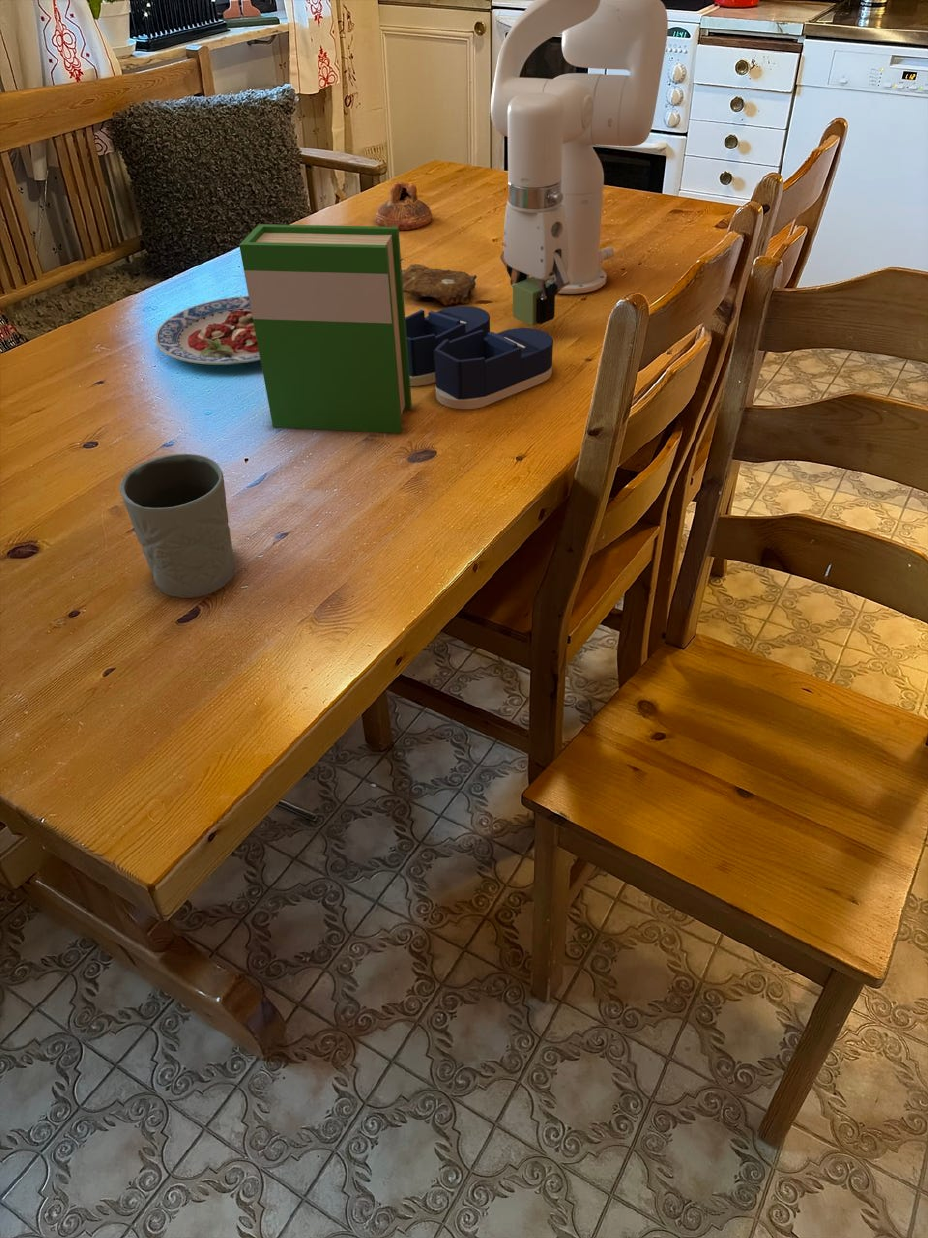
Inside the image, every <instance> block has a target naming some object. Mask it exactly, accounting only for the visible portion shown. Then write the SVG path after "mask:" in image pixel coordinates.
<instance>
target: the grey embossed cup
mask: <svg viewBox="0 0 928 1238" xmlns="http://www.w3.org/2000/svg"><path fill="white" fill-rule="evenodd" d="M224 477H225V476H224V472H223V470H222V468H221V467H220V464H218V463H217V462H216V461H214V460H213V459H211V458H209V457H207V456H204V455H200V454H193V453H174V454H173V453H172V454H166V455H161V456H158V457H153V458H151V459H149V460H146V461H144V462H141V463H140V464H138V465H136V466H134V467H133V468H132V469H130V470H129V471H128V472H127V473H126V474H125V475H124V477H123V478H122V479H121V482H120V484H119V493H120V496H121V498H122V501H123V503H124V506H125V508H126V511H127V513H128V516H129V519H130V521H131V524H132V528H133V529H134V532H135V534H136V537H137V541H138V543H139V544H140V545H141V547H142V553H143V555H144V558H145V560H146V563H147V565H148V568H149V569H150V573H151V575H152V578H153V580H154V583H155V585H156V587H157V588H158V589H159V591H161V592H162V593H164V594H165V595H167V596H169V597H172V598H177V599H179V598H180V599H193V598H199V597H203V596H207V595H210V594H212V593H214V592H217V591H219V590H221V589H222V588H223V587H225V586H226V585H227V584H229V582H231V580H232V578H233V577H234V575H235V572H236V560H235V555H234V552H233V544H232V537H231V535H232V534H231V528H230V525H229V514H228V513H229V512H228V507H227V493H226V486H225V479H224Z"/></svg>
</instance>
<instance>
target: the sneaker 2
mask: <svg viewBox="0 0 928 1238" xmlns="http://www.w3.org/2000/svg"><path fill="white" fill-rule="evenodd" d="M553 346H554V340H553V337H552V336H551V334H549V333H548V332H546V331H544V330H541V329H537V328H529V327H516V328H510V329H509V328H508V329H506V330H503V331H500V332H497V333H496V332H493V331H490V332H489V333H487V337H486V338H484V331H483V330H479V331H476V332H473V333H471V334H468V335H465V336H462V337H460V338H457V339H454V340H451V341H449V340H448V339H445V340H444V341H443V342H442V343H441V344H439V345H438V346H437V347H436V348H435V350H434V361H435V379H436V382H435V398H436V401H437V402H438V403H439V404H441V405H442V406H444V407H447V408H450V409H454V410H463V411H464V410H476V409H480V408H484V407H486V406H489V405H491V404H494V403H496V402H499V401H500V400H501V401H502V400H503V399H506V398H509V397H510V396H513V395H516V394H518V393H520V392H523V391H525V390H528V389H530V388H532V387H535V386H538V385H541V384H542V383H544V382H546V381H548V380H549V379H550V378H551V376H552V374H553V351H554V350H553V348H554V347H553Z"/></svg>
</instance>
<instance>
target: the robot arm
mask: <svg viewBox="0 0 928 1238" xmlns="http://www.w3.org/2000/svg"><path fill="white" fill-rule="evenodd" d="M668 19H669V18H668V12H667V8H666V5H665V4H664V2H663V1H662V0H533V1H532V2H531V3H530V4H528V6H527V7H526V8H525V9H524V10H523V12H521V14H520V15H519V16H518V18H517V19H516V20H515V22H514V23H513V24H512V26H511V28H510V29H509V31H508V32H507V34H506V36H505V38H504V39H503V42H502V44H501V47H500V49H499V52H498V55H497V60H496V66H495V70H494V71H495V72H494V77H493V84H492V90H491V99H490V117H491V118H490V119H491V122H492V125H493V128H494V129H495V131H496V132H497V133H498V134H499V135H501V136H503V137H507V181H508V182H507V190H508V191H507V193H508V197H507V198H508V199H507V201H506V206H505V214H504V223H503V250H502V252H501V254H500V256H499V258H500V261H501V262H502V264H503V265H504V267H505V268H506V272H507V274H508V276H509V278H510V280H509V283H510V286H511V287H512V288H513V284H515V283H518V282H521V281H523V280H526V279H528V278H530V277H534V278H537V282H538V289H539V296H540V298H538V299H537V323H538V324H537V325H544V323H545V324H546V323H547V322H550V321H552V320H554V318H555V315H554V308H556V296H558V295H559V294H561V295H578V294H586V293H590V292H594V291H597V290H600V289H601V288H602V287H604V286H605V285H606V283H607V276H608V275H607V272H606V271H605V270H604V269H602V265H603V263H604V261H607V260H609V259H612V258H614V256H615V250H614V248H613V247H611V246H607V247H605V248H602V249H600V246H601V232H602V231H601V229H602V215H603V214H602V213H603V199H604V185H605V184H604V183H605V172H604V168H603V164H602V161H601V160H600V158H599V156H598V154H597V152H596V151H595V149H594V147H593V146H612V147H637V146H640V145H642V144H644V143H645V142H646V140H647V139H648V138H649V136H650V134H651V131H652V127H653V124H654V120H655V119H654V118H655V114H656V108H657V102H658V96H659V90H660V84H661V80H662V79H661V78H662V74H663V73H662V72H663V67H664V61H665V56H666V49H667V40H668V30H669V20H668ZM559 34H561V53H562V56H563V58H564V60H565V61H566V62H567V63H568V64H570V65H571V66H574V67H577V68H583V69H584V68H585V69H598V70H599V69H600V70H601V69H602V70H621V71H622V70H624V71H628V72H629V75H628V74H603V73H587V72H573V73H564V74H560V75H558V76H556V77H554V78H543V77H541V78H539V77H520V75H521V72H522V69H523V67H524V65H525V63H526V60H527V59H528V58H529V57H530V55H531V54H532V53H533V52H534V50H536V49H537V48H538V47H539V46H541V45H542V44H543V43H545V42H546V41H548V40H549V39H551V38H553V37H555V36H557V35H559ZM546 281H548V282H549V286H548V287H547V288H546V283H545V282H546Z"/></svg>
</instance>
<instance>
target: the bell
mask: <svg viewBox="0 0 928 1238" xmlns="http://www.w3.org/2000/svg"><path fill="white" fill-rule="evenodd" d="M417 189H418V188H417V186H416V185H415V183H412V182H409V181H397V182H394V183H393V184H392V186H391V187H390V190H389V191H390V197H389V199H388V200H386V201H384V202H383V203H381V204H380V206H378V209H377V211H376V212H375V217H374V219H375V224H377V225H378V226H383V227H399V231H409V230H414V229H415V230H416V229H420V228H421V227H425V226H427V225H429V224H430V223H431V221H432V219H433V212H432V210H431V208H430V207H429V206H428V204H426V203H425V202H423V201H421V200H419V199H418V197H417V196H418V195H417V194H418V191H417Z"/></svg>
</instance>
